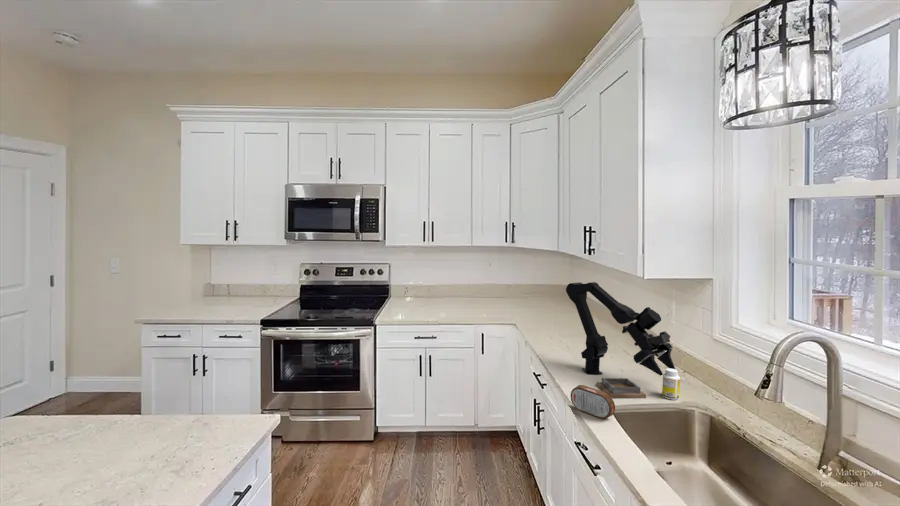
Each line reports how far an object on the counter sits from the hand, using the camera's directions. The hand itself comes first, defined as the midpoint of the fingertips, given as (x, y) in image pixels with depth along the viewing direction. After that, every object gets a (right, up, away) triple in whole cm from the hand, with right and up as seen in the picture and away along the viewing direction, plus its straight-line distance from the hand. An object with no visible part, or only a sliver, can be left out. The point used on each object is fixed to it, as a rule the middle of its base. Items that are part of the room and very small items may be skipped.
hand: (668, 372), depth 162 cm
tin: (-33, -9, -16) cm, 38 cm away
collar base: (-16, -8, +4) cm, 18 cm away
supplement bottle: (+1, -9, 0) cm, 9 cm away
